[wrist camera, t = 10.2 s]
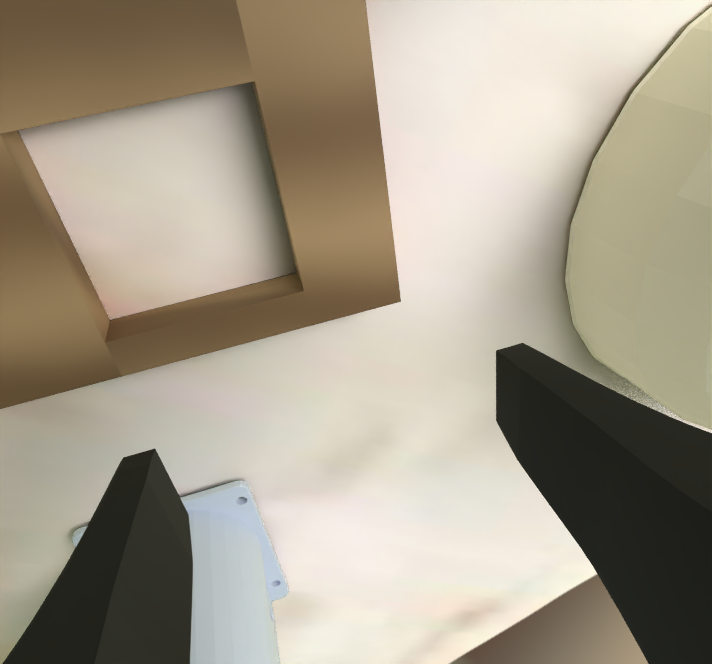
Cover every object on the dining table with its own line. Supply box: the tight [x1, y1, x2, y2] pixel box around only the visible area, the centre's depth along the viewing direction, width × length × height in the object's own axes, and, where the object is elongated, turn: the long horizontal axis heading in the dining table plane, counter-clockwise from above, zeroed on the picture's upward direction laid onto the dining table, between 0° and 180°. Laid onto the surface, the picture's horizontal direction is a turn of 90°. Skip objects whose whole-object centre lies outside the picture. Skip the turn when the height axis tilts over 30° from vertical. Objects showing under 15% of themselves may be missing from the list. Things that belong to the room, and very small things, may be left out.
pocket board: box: [0, 0, 401, 409], centre depth 17 cm, size 12×16×2 cm
